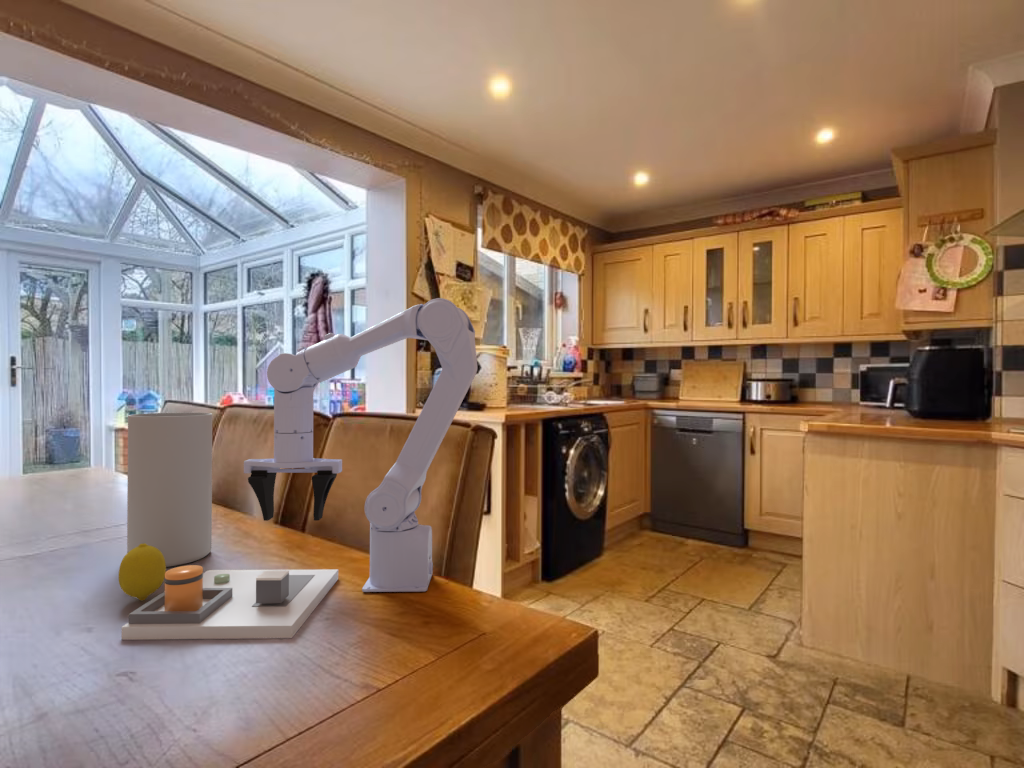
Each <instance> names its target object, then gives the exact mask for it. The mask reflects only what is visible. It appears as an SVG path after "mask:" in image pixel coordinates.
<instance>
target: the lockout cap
mask: <svg viewBox="0 0 1024 768" xmlns="http://www.w3.org/2000/svg"><path fill="white" fill-rule="evenodd" d="M203 573H204V566H201V565H200V564H199V565H198V564H197V565H196V564H195V565H194V564H192V565H191V564H189V565H179V566H177V567H176V566H175V567H174V568H170V569H168V570H166V572H165V578H164V591H165V611H197V610H198V609H200V608H201V607H202V606H203Z"/></svg>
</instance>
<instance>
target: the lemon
mask: <svg viewBox="0 0 1024 768" xmlns="http://www.w3.org/2000/svg"><path fill="white" fill-rule="evenodd" d="M166 571H167V567H166V563H165V559H164V556H163V554H162V553H161V551H160V550H158V549H157V548H155V547H153V546H149V545H147V544H146V543H142V544H140V545H139V546H138V547H136V548H134V549H132V550H131V551H129V552H128V553H127V552H126V554H125V555H124V556H123V558H122V560H121V562H120V565H119V568H118V584H119V587H120V589H121V590H122V591H123V593H124V594H125V595H128V596H129V597H133V598H135V599H138V600H139V601H145V600H147V598H149V596H150V595H152V594H154V593H155V592H156V591H157V590H159V588H161V586H162V585H163V583H164V582H165V572H166Z"/></svg>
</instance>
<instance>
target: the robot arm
mask: <svg viewBox="0 0 1024 768" xmlns="http://www.w3.org/2000/svg"><path fill="white" fill-rule="evenodd" d="M323 337H324V340H321V341H319V342H317V343H315V344H312V345H310V346H308V347H306V346H301V347H298V348H297V349H296V350H297V352H296V354H293V353H288V352H283V353H280V354H279V355H278V356H276V357H275V358H273V359H272V360H271V361H270V362H269V364H268V366H267V369H266V370H267V371H266V378H267V380H268V383H269V384H270V386H271V387H272V388H273V390H274V392H273V395H274V396H273V398H274V399H273V458H249V459H247V460H244V461H243V474H250V476H248V477H247V482H248V484H249V485H250V487H251V489H252V490H253V492H254V494H255V496H256V498H257V501H258V504H259V506H260V510H261V513H262V514H261V515H262V519H263V521H264V522H265V521H270V520H271V519H273V518H274V515H275V514H274V513H275V506H274V505H275V503H274V502H275V500H274V497H275V496H274V493H275V485H276V478H277V474H278V473H279V474H280V473H282V474H283V473H289V474H291V473H293V474H294V473H296V474H297V473H303V474H304V473H305V474H306V473H317V474H314V475H312V476H311V482H312V489H313V512H312V513H313V521H320V520H321V519H323V515H324V509H325V507H326V506H325V505H326V502H327V498H328V496H329V493H330V491H331V488H332V487H333V484H334V482H335V479H336V478H337V474H340V473H341V472H343V459H341V458H339V459H337V458H335V459H334V458H333V459H331V458H318V457H317V458H315V457H314V391H315V389H316V387H317V386H318V385H319V384H320V383H322V382H325V381H326V380H330V379H332V378H335V377H337V376H339V375H341V374H343V373H345V372H347V371H350V370H352V369H355V368H356V367H357V366H358V364H359V361H360V359H361V357H362V356H364V355H368V354H371V353H373V352H375V351H377V350H380V349H382V348H386V347H388V346H390V345H393V344H396V343H398V342H401V341H403V340H406V339H416V340H425V341H428V342H429V344H430V345H431V346H432V347H433V349H434V351H435V354H436V356H437V358H438V361H439V364H440V366H441V371H440V374H439V375H438V378H437V379H436V381H435V384H433V388H432V389H431V391H430V393H429V395H428V397H427V398H426V401H425V403H424V405H423V407H422V410H421V412H420V413H419V415H418V417H417V419H416V420H415V424H414V425H413V427H412V429H411V431H410V433H409V434H408V438H407V439H406V441H405V443H404V445H403V447H402V449H401V451H400V452H399V455H398V456H397V459H396V461H395V463H393V465H392V466H391V467H390V469H389V471H388V472H387V473H386V474H385V475H384V477H383V480H382V481H381V483H380V484H379V486H378V487H376V488H375V489H374V490H371V491H370V493H369V494H368V495H367V497H366V499H365V502H364V508H363V509H364V515H365V517H366V519H367V521H369V577H368V579H367V580H366V582H365V583H364V585H363V586H362V588H361V591H362V592H364V593H370V592H371V593H372V592H373V593H377V592H379V593H382V592H383V593H385V592H387V593H388V592H389V593H392V592H394V593H396V592H397V593H398V592H399V593H401V592H402V593H404V592H405V593H406V592H417V593H418V592H426V591H428V588H429V585H430V582H431V579H432V576H433V567H434V565H433V527H432V526H431V525H428V524H427V525H425V524H420V523H419V518H418V517H417V515H416V513H415V512H416V511H417V510H418V508H419V507H420V505H421V502H422V490H423V486H424V484H425V482H426V479H427V472H428V470H429V468H430V466H431V464H432V461H434V458H435V456H436V454H437V452H438V451H439V448H440V446H441V444H442V442H443V440H444V438H445V436H446V434H447V433H448V430H449V428H450V427H451V424H452V423H453V421H454V419H455V417H456V415H457V413H458V410H459V409H460V407H461V405H462V402H463V400H464V399H465V397H466V394H467V393H468V391H469V389H470V387H471V385H472V383H473V381H474V379H475V378H476V375H477V373H478V359H477V349H476V339H475V338H476V330H475V327H474V326H473V323H472V321H471V319H470V317H469V316H468V314H467V313H466V311H464V309H462V308H460V307H458V306H456V304H455V303H453V302H452V301H451V300H449V299H446V298H441V297H437V298H433V299H430V300H429V301H427V302H426V303H424V304H423V303H419V304H415V305H412V306H411V307H409V308H407V309H405V310H403V311H401V312H399V313H397V314H395V315H392V316H391V317H389V318H387V319H385V320H383V321H381V322H379V323H377V324H375V325H373V326H371V327H369V328H367V329H365V330H363V331H361V332H358V333H357V334H355V335H353V336H347V335H345V334H344V333H337V334H335V333H332V332H329V333H327V334H325V335H324V336H323Z"/></svg>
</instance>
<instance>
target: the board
mask: <svg viewBox="0 0 1024 768" xmlns="http://www.w3.org/2000/svg"><path fill="white" fill-rule="evenodd" d="M264 571H289V595H288V596H287V597H286V598H285V600H284V601H283V602H282V603H256V578H257V577H258V576H259V575H260V574H262V573H263V572H264ZM338 580H339V569H336V568H335V569H334V568H332V569H327V568H326V569H322V568H321V569H208V570H206V571H205V572H203V606H202V607H201V608H200V609H198V610H197V611H165V590H164V591H163V592H161V593H160V594H157V596H155V597H154V598H152V599H150V600H149V601H148V602H146V603H144V604H143V605H141V606H139V607H137V608H136V609H135V610H133V611H131V612H130V613H128V622H126V623H125V624H124V625H122V626H121V641H122V640H126V641H127V640H128V641H130V640H133V641H134V640H143V641H145V640H216V639H217V640H219V639H220V640H223V639H225V640H230V639H232V640H233V639H237V640H238V639H239V640H241V639H242V640H244V639H292V638H294V636H295V634H297V632H298V631H299V630H300V628H301V627H302V626H303V625H304V623H305V622H306V621H307V619H308V618H309V617H310V615H311V614H312V613H313V612H314V610H315V609H316V608H317V607H318V605H319V604H320V603H321V601H322V600H323V599H324V598H325V596H327V594H328V593H329V591H330V590H331V589H332V588H333V586H334V585H335V584H336V582H337V581H338Z"/></svg>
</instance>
